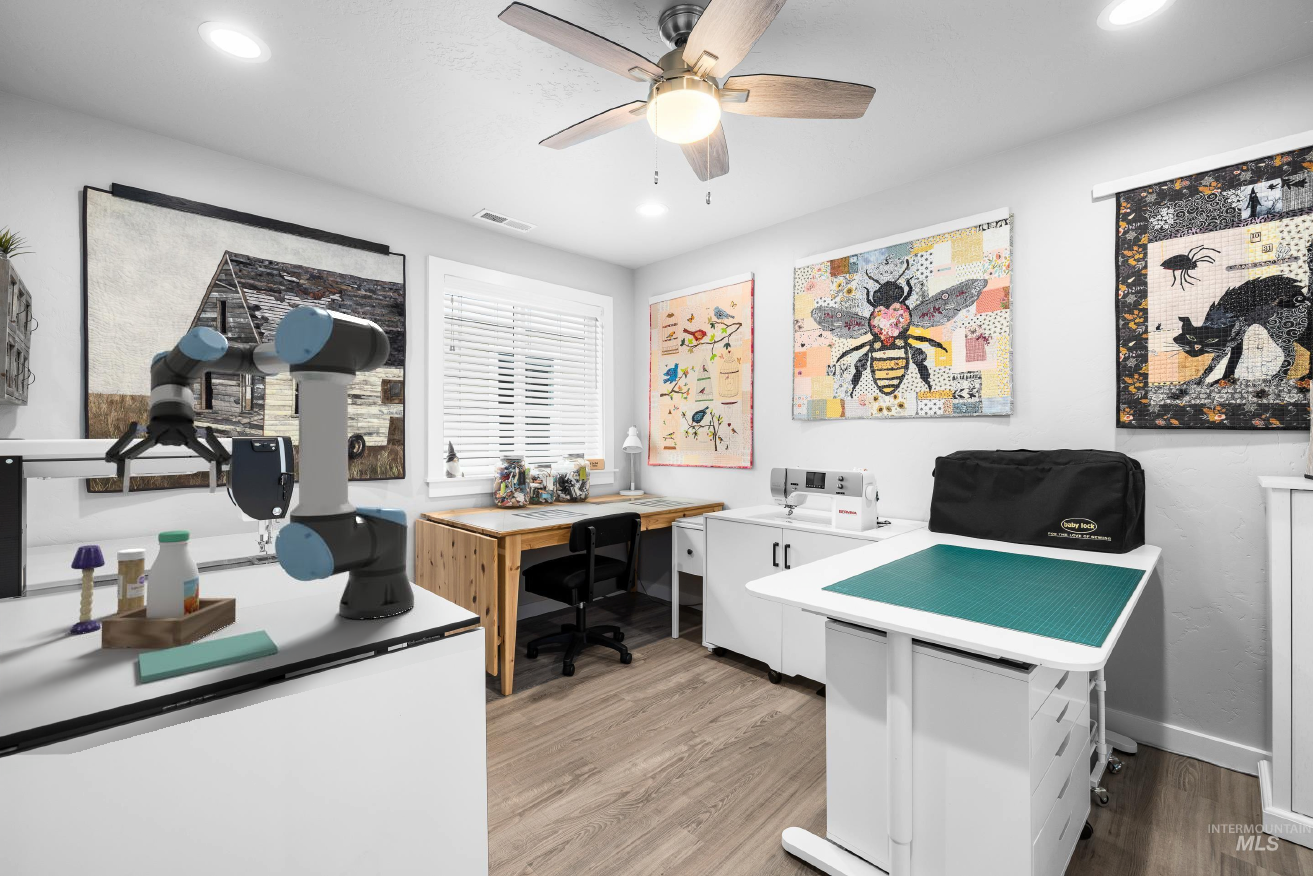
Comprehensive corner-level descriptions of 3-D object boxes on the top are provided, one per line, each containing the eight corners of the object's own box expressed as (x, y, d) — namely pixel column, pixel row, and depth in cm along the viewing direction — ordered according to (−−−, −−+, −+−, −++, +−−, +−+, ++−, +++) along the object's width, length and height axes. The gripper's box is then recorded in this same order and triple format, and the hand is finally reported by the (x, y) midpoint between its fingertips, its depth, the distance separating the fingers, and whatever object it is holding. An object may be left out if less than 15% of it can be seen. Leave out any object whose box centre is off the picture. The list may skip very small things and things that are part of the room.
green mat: (264, 635, 109) (264, 630, 109) (277, 653, 100) (277, 647, 100) (138, 660, 96) (138, 654, 96) (141, 682, 88) (141, 676, 88)
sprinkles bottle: (140, 613, 121) (140, 551, 121) (112, 615, 119) (113, 552, 119) (148, 607, 125) (149, 547, 125) (122, 609, 123) (122, 548, 123)
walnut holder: (235, 622, 116) (235, 598, 116) (181, 647, 102) (181, 620, 102) (165, 622, 115) (166, 598, 115) (101, 647, 101) (101, 620, 101)
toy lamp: (107, 625, 113) (108, 543, 113) (98, 632, 109) (99, 547, 109) (75, 628, 111) (76, 545, 111) (64, 636, 107) (65, 549, 107)
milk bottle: (167, 643, 104) (169, 536, 104) (135, 639, 106) (136, 534, 106) (208, 629, 112) (209, 529, 112) (177, 626, 113) (178, 527, 113)
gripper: (237, 424, 136) (242, 498, 126) (92, 415, 118) (84, 500, 108) (243, 405, 132) (248, 479, 122) (94, 392, 114) (85, 478, 104)
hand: (171, 489), depth 115 cm, fingers open, 13 cm apart
